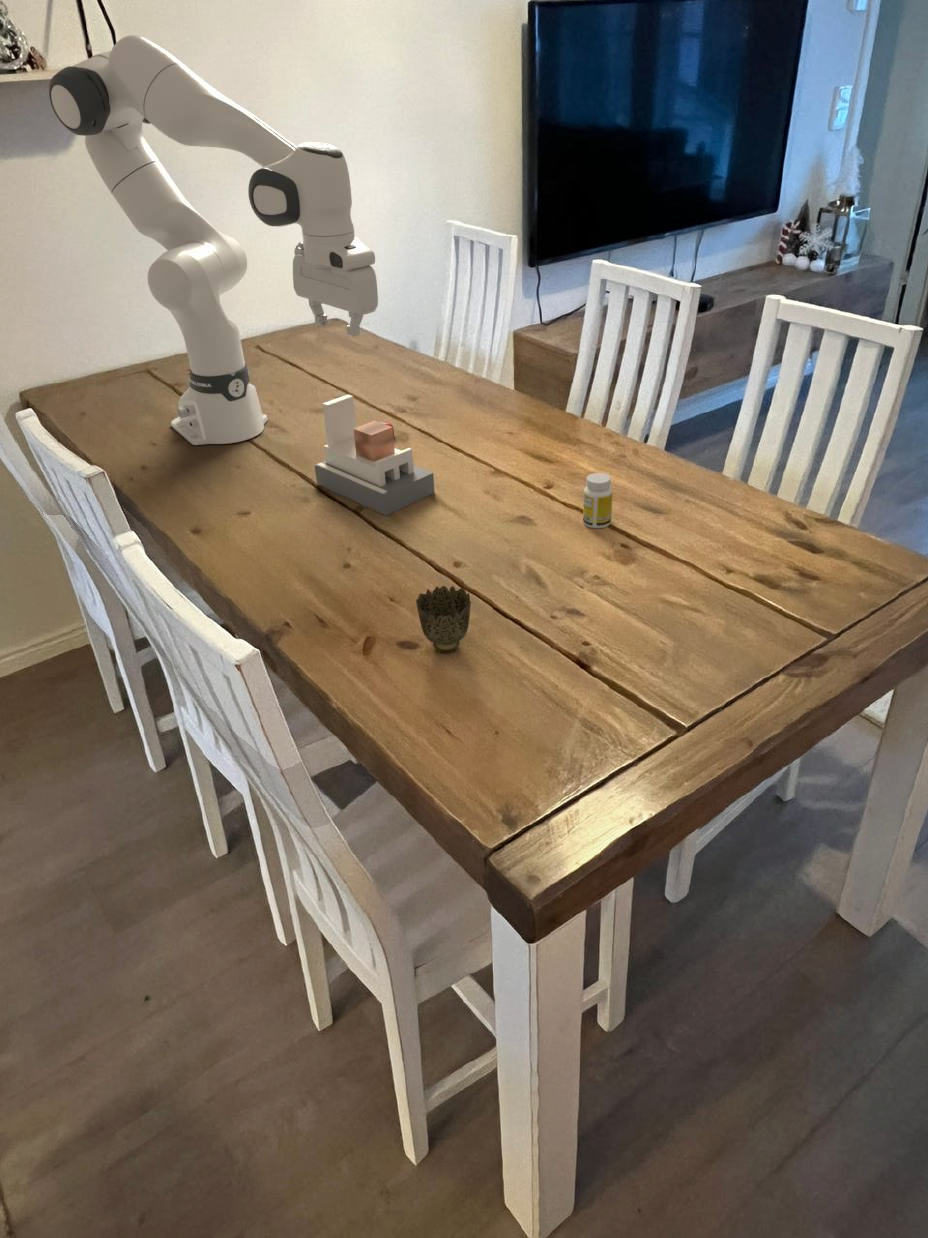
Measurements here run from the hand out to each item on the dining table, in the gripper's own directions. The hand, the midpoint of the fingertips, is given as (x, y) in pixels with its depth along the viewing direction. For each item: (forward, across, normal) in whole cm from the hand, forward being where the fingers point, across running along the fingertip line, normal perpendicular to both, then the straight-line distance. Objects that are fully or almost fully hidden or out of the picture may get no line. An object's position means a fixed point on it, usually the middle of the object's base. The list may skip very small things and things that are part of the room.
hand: (337, 329), depth 164 cm
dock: (+27, +11, -3) cm, 29 cm away
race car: (+28, -5, +10) cm, 30 cm away
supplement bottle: (+26, +51, +14) cm, 59 cm away
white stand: (+23, +10, -3) cm, 25 cm away
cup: (+26, +59, -29) cm, 71 cm away
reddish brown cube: (+19, +12, -3) cm, 23 cm away
